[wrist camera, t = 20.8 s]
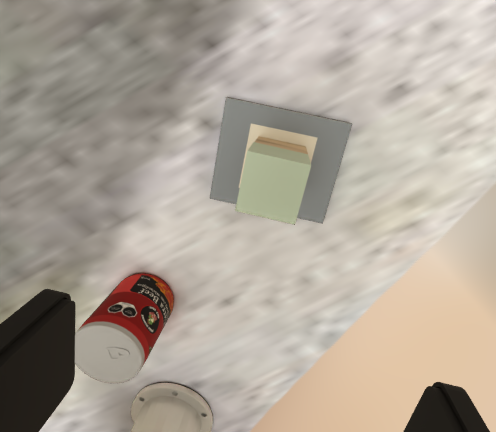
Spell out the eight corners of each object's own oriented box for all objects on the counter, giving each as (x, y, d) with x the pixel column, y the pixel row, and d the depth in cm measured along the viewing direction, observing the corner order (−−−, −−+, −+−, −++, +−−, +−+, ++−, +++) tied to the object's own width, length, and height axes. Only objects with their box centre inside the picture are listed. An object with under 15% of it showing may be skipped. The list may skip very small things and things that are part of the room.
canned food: (185, 309, 45) (155, 373, 35) (137, 327, 47) (95, 392, 37) (156, 262, 43) (115, 315, 33) (107, 283, 45) (54, 338, 35)
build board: (321, 219, 39) (322, 223, 38) (211, 195, 39) (209, 198, 38) (350, 123, 35) (352, 123, 34) (227, 97, 35) (225, 97, 34)
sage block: (294, 205, 32) (295, 224, 27) (242, 193, 32) (235, 210, 28) (307, 154, 30) (311, 165, 26) (253, 141, 31) (247, 150, 26)
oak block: (294, 191, 37) (294, 206, 32) (249, 181, 37) (243, 194, 32) (305, 146, 35) (308, 154, 30) (258, 136, 35) (253, 142, 31)
